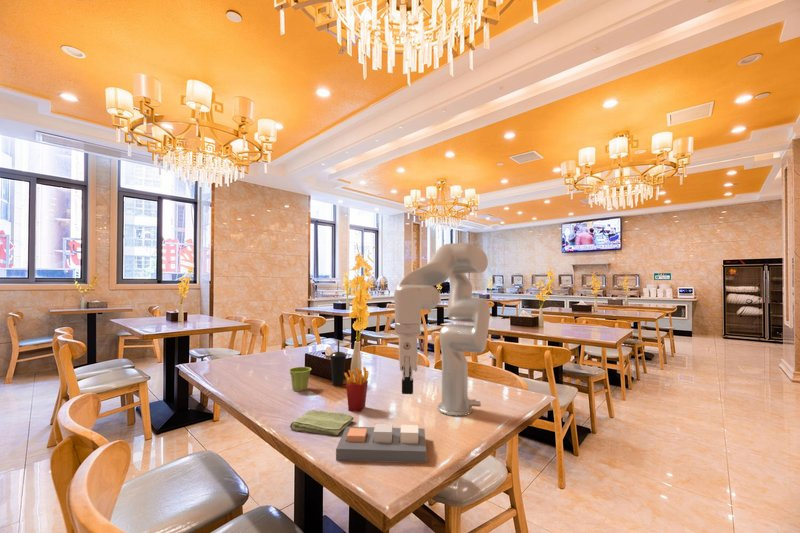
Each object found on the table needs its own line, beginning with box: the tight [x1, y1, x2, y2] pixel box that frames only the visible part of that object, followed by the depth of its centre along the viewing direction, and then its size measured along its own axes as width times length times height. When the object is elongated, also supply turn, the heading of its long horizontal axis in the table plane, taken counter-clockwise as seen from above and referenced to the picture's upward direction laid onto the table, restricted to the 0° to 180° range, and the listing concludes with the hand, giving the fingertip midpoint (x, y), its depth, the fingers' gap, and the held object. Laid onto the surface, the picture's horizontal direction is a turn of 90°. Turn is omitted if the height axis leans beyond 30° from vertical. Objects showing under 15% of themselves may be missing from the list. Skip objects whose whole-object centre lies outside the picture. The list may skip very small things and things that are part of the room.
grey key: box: [374, 423, 394, 443], centre depth 99 cm, size 5×5×3 cm
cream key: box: [400, 424, 419, 444], centre depth 98 cm, size 5×5×3 cm
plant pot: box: [288, 366, 312, 392], centre depth 151 cm, size 9×9×9 cm
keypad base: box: [335, 426, 427, 463], centre depth 99 cm, size 24×14×3 cm, turn 88°
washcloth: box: [289, 409, 355, 437], centre depth 114 cm, size 13×18×3 cm
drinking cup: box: [329, 340, 348, 387], centre depth 159 cm, size 8×8×20 cm
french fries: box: [344, 366, 369, 413], centre depth 130 cm, size 9×8×15 cm
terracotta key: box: [347, 428, 367, 442], centre depth 99 cm, size 5×5×3 cm
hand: (407, 393), depth 99 cm, fingers closed
